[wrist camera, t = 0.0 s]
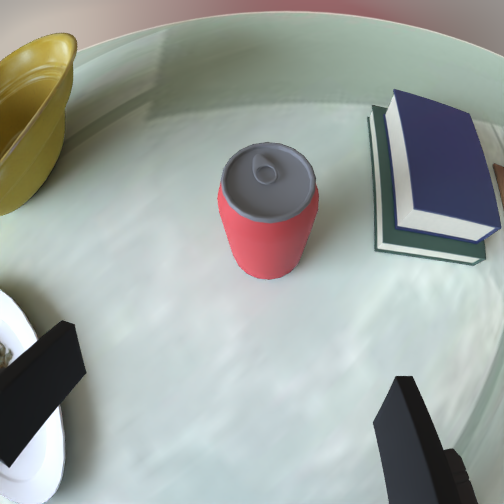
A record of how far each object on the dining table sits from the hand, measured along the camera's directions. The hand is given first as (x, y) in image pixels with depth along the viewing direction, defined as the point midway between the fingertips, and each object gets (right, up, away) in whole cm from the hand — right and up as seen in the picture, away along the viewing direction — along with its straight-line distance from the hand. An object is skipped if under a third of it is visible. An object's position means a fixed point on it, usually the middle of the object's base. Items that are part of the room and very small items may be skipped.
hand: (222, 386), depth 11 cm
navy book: (+21, +14, +17) cm, 30 cm away
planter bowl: (-33, +18, +24) cm, 44 cm away
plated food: (-33, -14, +13) cm, 38 cm away
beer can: (+3, +5, +18) cm, 19 cm away
